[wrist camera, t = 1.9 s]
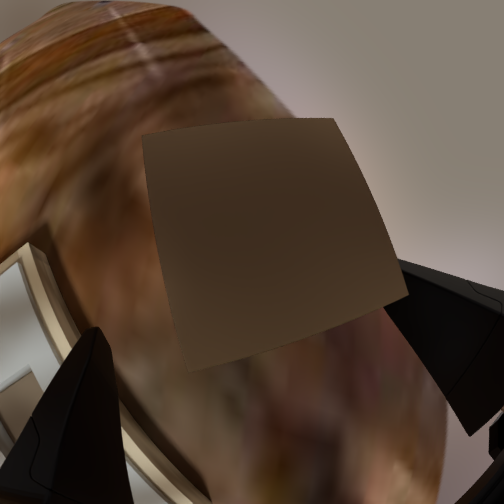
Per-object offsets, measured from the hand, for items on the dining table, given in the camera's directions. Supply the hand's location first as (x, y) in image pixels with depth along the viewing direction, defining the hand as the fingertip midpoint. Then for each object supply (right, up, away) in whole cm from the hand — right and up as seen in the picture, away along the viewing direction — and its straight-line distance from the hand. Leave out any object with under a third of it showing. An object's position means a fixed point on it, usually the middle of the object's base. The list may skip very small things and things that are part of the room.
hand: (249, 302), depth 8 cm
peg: (-2, -2, +8) cm, 9 cm away
